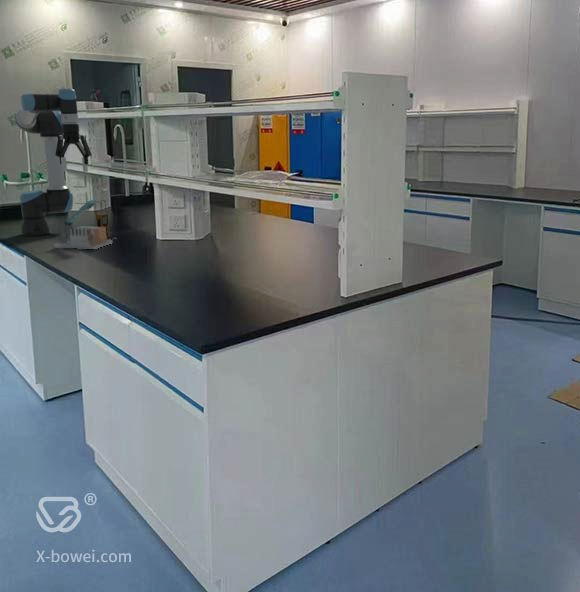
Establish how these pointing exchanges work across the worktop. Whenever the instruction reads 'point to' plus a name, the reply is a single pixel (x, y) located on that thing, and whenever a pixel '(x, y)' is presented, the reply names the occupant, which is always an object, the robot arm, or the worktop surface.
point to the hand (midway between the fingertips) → (75, 171)
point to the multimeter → (103, 220)
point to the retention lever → (81, 211)
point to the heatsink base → (83, 237)
